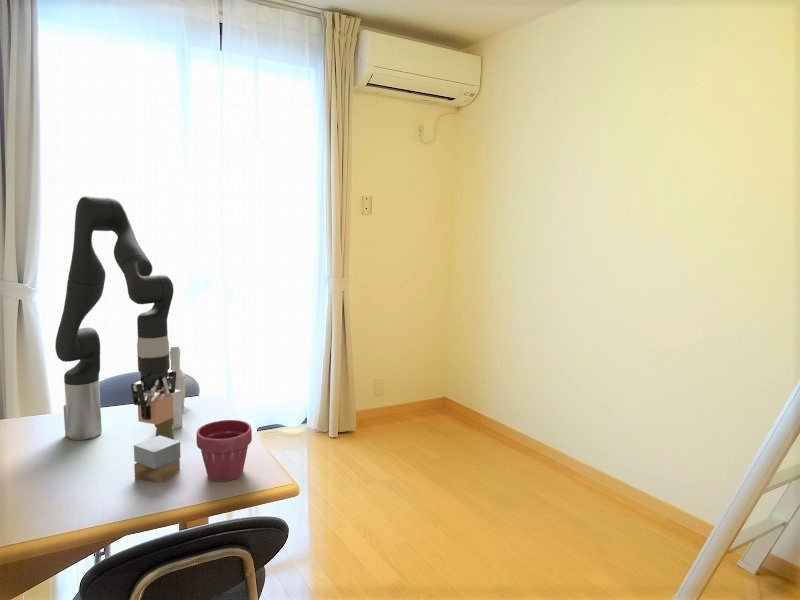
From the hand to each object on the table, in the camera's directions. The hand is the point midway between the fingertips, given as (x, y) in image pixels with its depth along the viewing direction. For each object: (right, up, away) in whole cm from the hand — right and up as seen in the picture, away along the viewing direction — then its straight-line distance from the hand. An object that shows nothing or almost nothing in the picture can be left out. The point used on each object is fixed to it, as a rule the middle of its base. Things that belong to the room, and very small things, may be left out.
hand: (155, 414), depth 150 cm
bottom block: (-1, -17, +3) cm, 17 cm away
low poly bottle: (-16, -8, +54) cm, 56 cm away
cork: (-4, -14, +16) cm, 22 cm away
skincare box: (-10, -11, +36) cm, 39 cm away
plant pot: (+17, -17, +4) cm, 24 cm away
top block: (0, -12, +2) cm, 12 cm away
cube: (0, -1, 0) cm, 1 cm away
